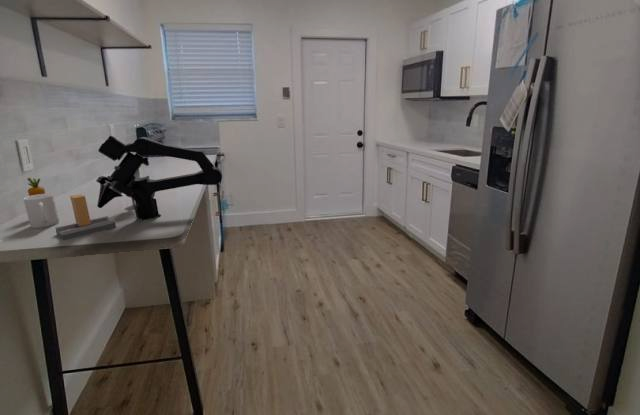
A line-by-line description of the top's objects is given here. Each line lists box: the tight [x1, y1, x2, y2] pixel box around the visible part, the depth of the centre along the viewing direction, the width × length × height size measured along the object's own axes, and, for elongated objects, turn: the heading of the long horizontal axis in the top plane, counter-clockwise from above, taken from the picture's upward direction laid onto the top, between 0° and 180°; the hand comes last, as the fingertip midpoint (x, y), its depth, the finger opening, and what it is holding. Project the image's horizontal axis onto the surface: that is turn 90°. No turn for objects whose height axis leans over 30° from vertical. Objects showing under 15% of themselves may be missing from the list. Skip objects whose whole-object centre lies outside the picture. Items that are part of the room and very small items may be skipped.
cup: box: [22, 193, 60, 229], centre depth 127 cm, size 8×12×10 cm
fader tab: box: [69, 193, 92, 228], centre depth 119 cm, size 4×5×10 cm
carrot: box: [27, 177, 46, 196], centre depth 138 cm, size 5×5×15 cm
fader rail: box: [55, 215, 117, 241], centre depth 121 cm, size 15×8×3 cm, turn 137°
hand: (98, 207), depth 123 cm, fingers closed
